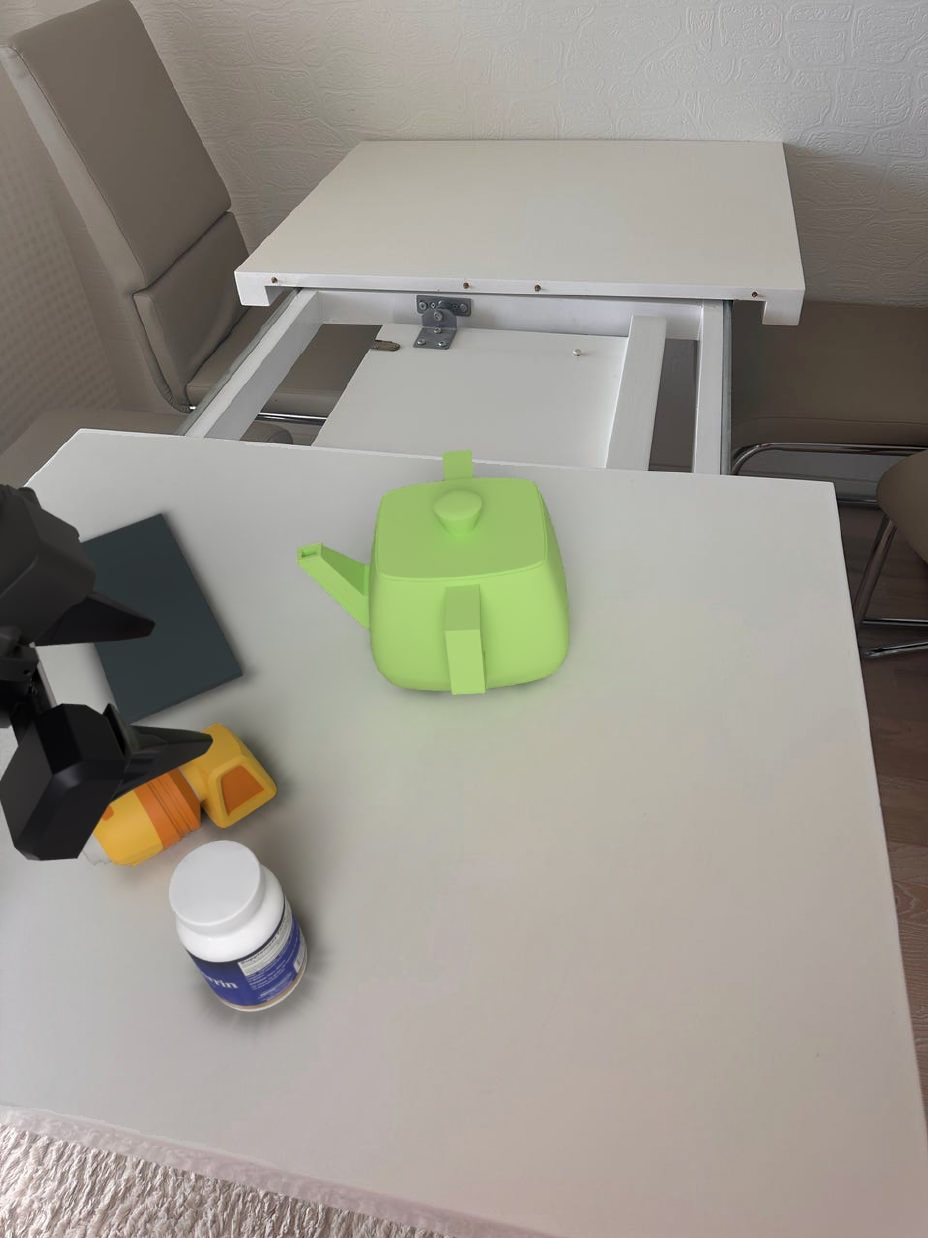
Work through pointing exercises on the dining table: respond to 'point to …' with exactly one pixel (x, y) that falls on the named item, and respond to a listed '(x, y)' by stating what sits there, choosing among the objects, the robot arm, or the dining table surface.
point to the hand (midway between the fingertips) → (179, 683)
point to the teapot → (456, 583)
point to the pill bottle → (237, 925)
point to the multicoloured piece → (182, 802)
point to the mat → (157, 622)
